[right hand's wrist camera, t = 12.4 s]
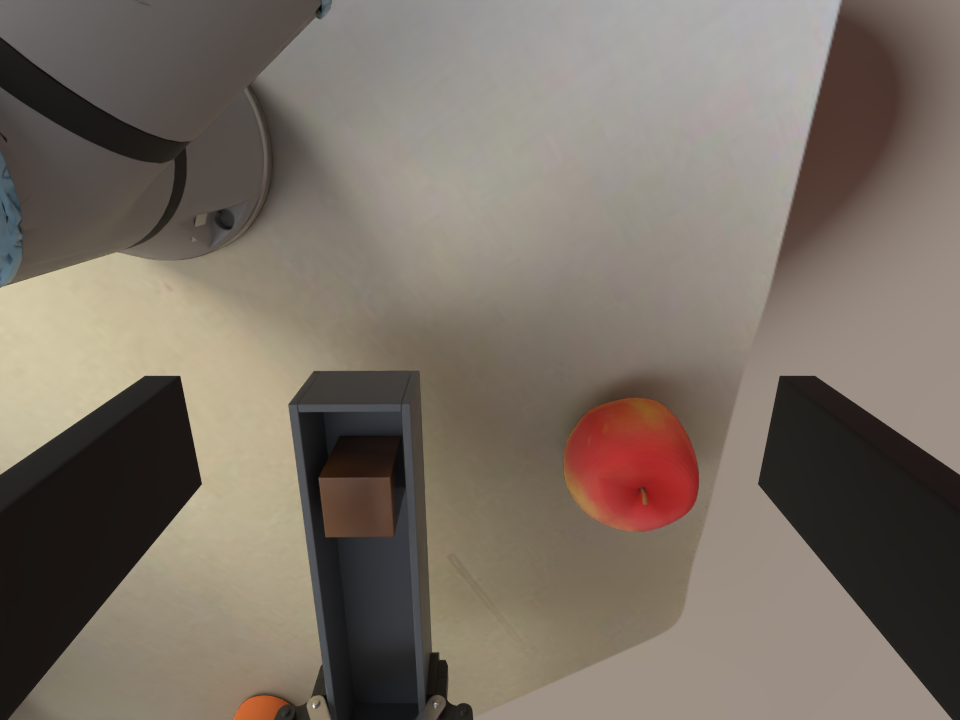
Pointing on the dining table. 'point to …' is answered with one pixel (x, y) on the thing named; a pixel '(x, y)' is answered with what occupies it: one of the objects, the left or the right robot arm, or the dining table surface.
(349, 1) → the dining table surface
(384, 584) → the grey trough
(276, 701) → the cup with straw
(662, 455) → the apple
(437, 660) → the left robot arm
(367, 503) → the walnut block
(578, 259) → the dining table surface
